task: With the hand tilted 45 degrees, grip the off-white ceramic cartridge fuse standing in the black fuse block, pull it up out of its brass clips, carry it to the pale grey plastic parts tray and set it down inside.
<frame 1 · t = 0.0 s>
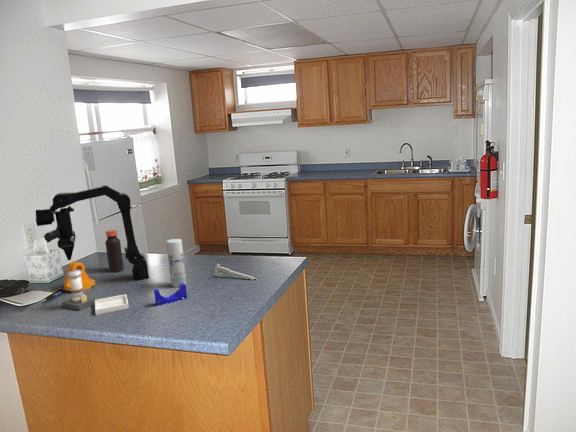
hand: (69, 257, 208), 15 cm above the countertop, tool pointing down, fingers open, 9 cm apart
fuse: (78, 300, 192), point 2 cm above the countertop, touching fuse block
tray: (112, 306, 188), on the countertop
bottle: (116, 270, 235), on the countertop
bracket: (81, 289, 212), on the countertop
cable clip: (171, 301, 190), on the countertop
fuse block: (79, 305, 192), on the countertop
spray paint can: (179, 285, 208), on the countertop
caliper: (235, 279, 212), on the countertop
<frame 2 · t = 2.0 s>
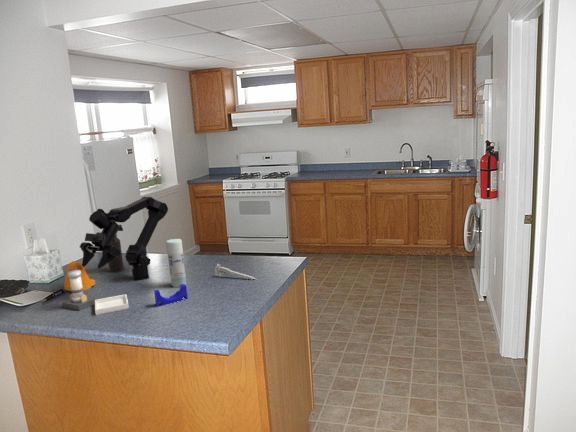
hand: (90, 267, 196), 13 cm above the countertop, tool tilted 45°, fingers open, 9 cm apart
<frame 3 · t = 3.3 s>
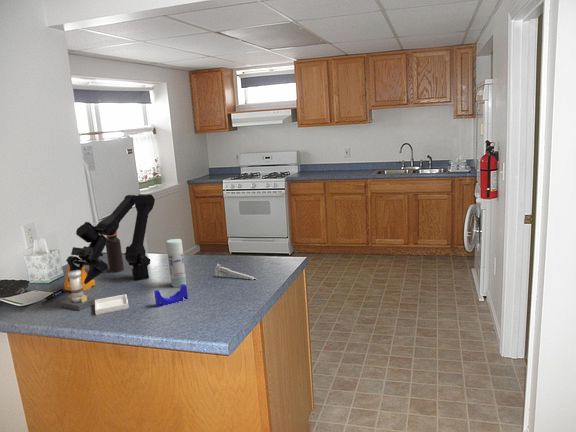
hand: (76, 282, 191), 9 cm above the countertop, tool tilted 45°, fingers open, 9 cm apart
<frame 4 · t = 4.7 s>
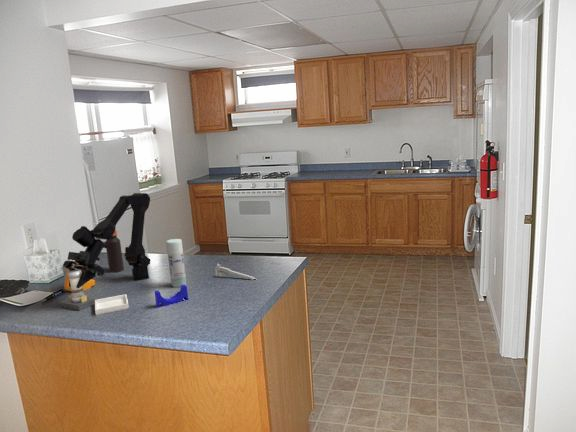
hand: (73, 287, 189), 8 cm above the countertop, tool tilted 45°, fingers closed on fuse, 4 cm apart
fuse: (78, 300, 192), point 2 cm above the countertop, touching fuse block, gripper
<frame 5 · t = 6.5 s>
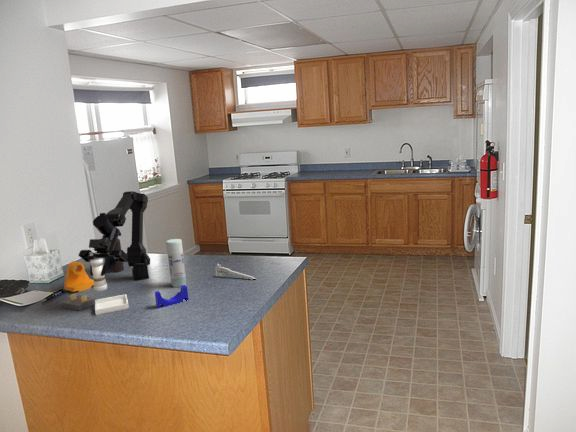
hand: (96, 275, 184), 13 cm above the countertop, tool tilted 45°, fingers closed on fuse, 4 cm apart
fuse: (101, 289, 187), point 7 cm above the countertop, touching gripper
when the fingers open (7 cm above the countertop, at t = 8.6 s): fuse stays where it is, resting on tray.
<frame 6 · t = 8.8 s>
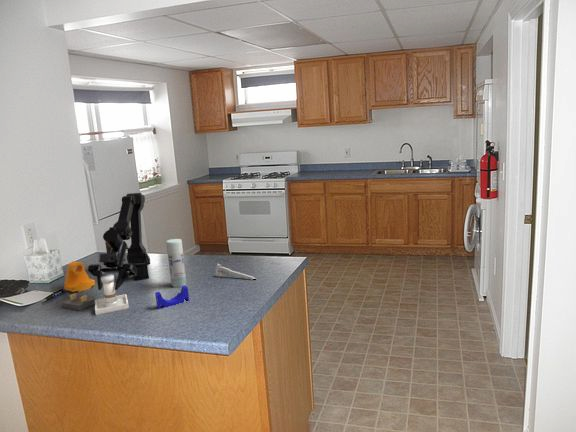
hand: (107, 289, 185), 8 cm above the countertop, tool tilted 45°, fingers open, 7 cm apart
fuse: (111, 305, 188), point 1 cm above the countertop, touching tray
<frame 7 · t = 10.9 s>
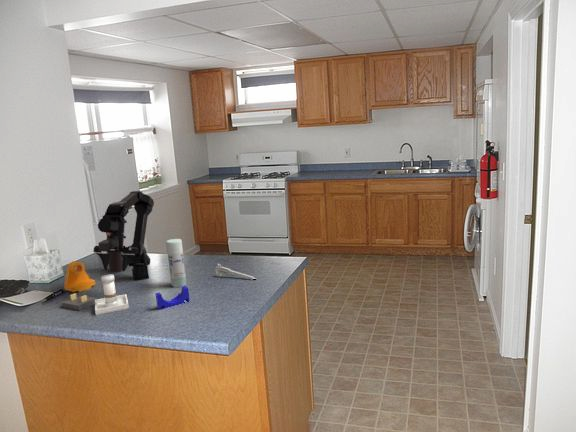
hand: (114, 270, 200), 10 cm above the countertop, tool tilted 15°, fingers open, 9 cm apart
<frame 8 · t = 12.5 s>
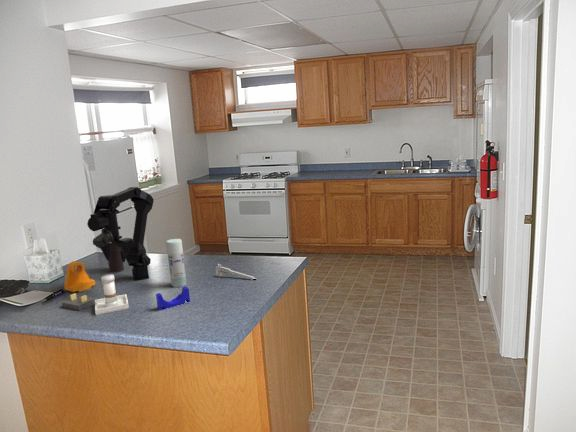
hand: (115, 261, 204), 13 cm above the countertop, tool pointing down, fingers open, 9 cm apart
at the end: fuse inside the target area on the tray (0.0 cm from its centre), point 0.5 cm above the tray's base; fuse touching tray; the gripper is holding nothing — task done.
